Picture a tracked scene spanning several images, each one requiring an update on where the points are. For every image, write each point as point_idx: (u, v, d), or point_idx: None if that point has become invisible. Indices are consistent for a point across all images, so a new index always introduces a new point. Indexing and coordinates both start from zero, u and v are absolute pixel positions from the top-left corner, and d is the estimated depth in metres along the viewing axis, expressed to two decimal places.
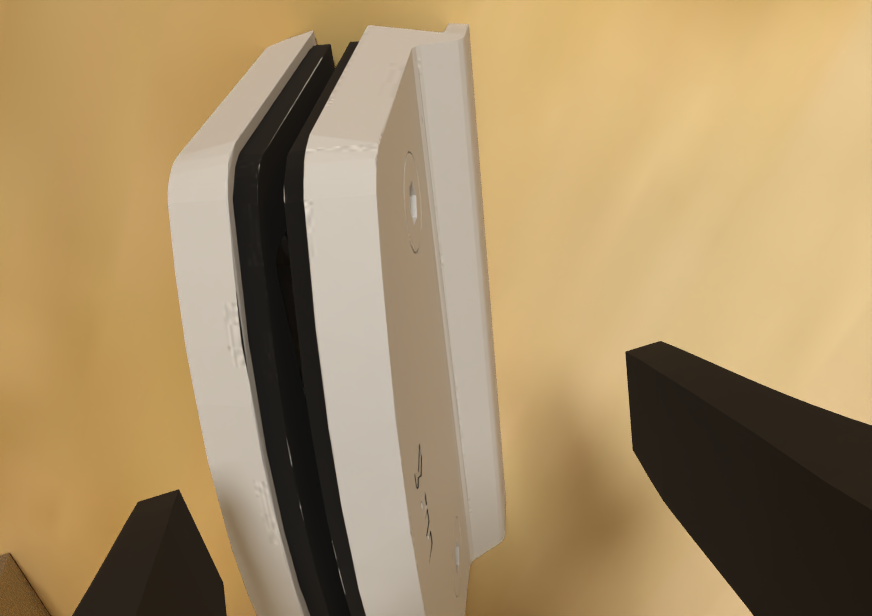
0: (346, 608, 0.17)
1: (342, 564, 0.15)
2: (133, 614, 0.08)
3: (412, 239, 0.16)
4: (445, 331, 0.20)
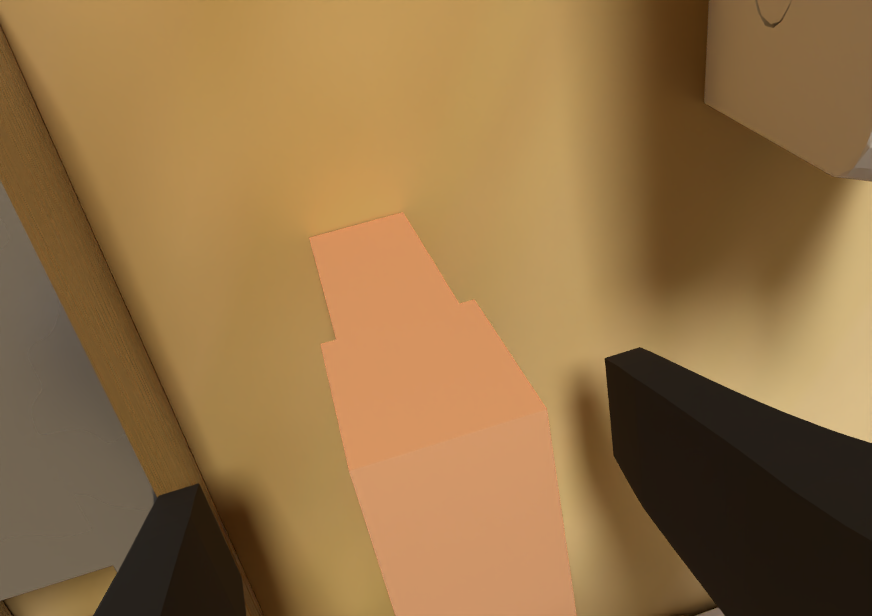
0: None
1: None
2: (160, 606, 0.08)
3: None
4: None
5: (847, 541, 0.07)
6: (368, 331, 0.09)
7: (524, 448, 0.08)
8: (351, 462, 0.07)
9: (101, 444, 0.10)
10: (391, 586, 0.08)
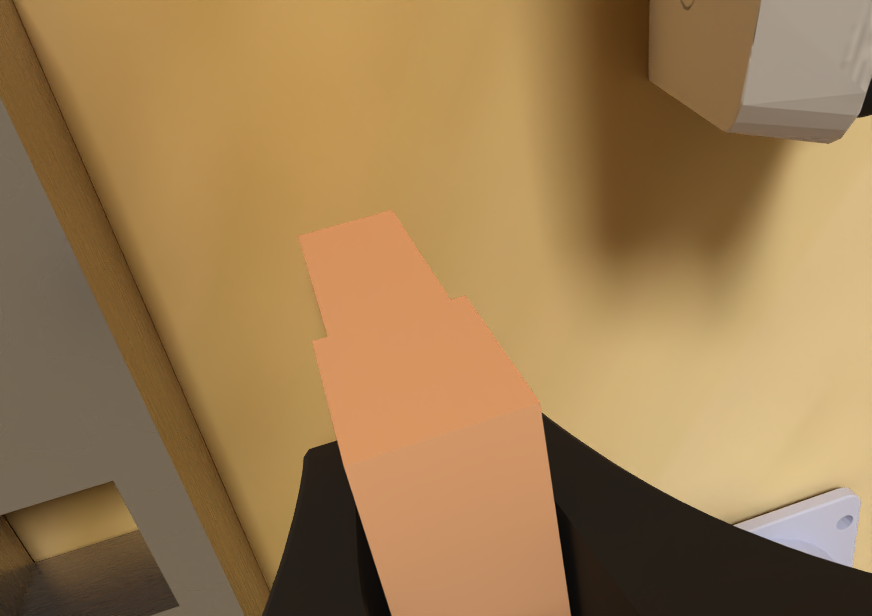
0: None
1: None
2: (353, 542, 0.09)
3: None
4: None
5: None
6: (359, 327, 0.09)
7: (517, 442, 0.08)
8: (345, 458, 0.07)
9: (102, 368, 0.12)
10: (386, 581, 0.08)
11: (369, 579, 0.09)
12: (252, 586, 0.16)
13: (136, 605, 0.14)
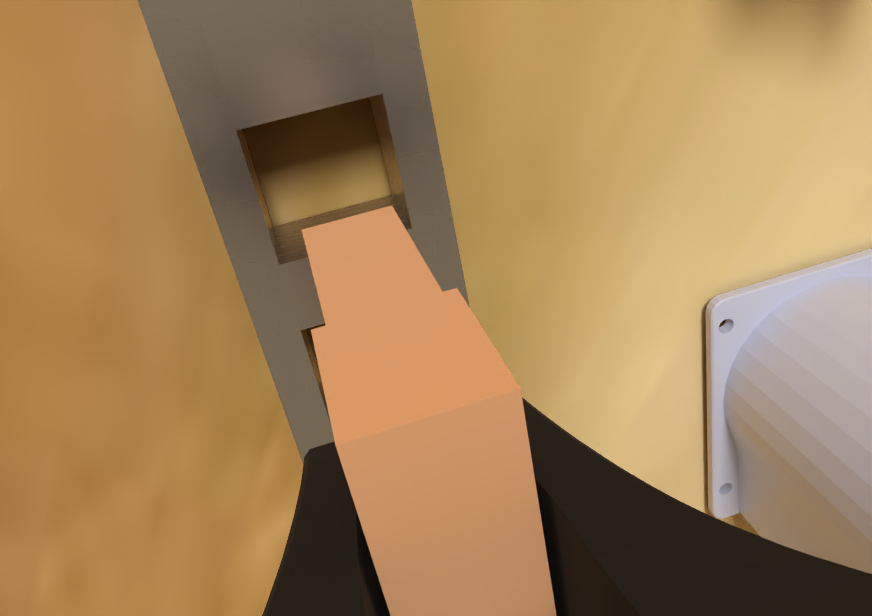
0: None
1: None
2: (353, 542, 0.09)
3: None
4: None
5: None
6: (355, 317, 0.10)
7: (500, 425, 0.08)
8: (337, 438, 0.08)
9: None
10: (376, 555, 0.09)
11: (369, 579, 0.09)
12: None
13: None
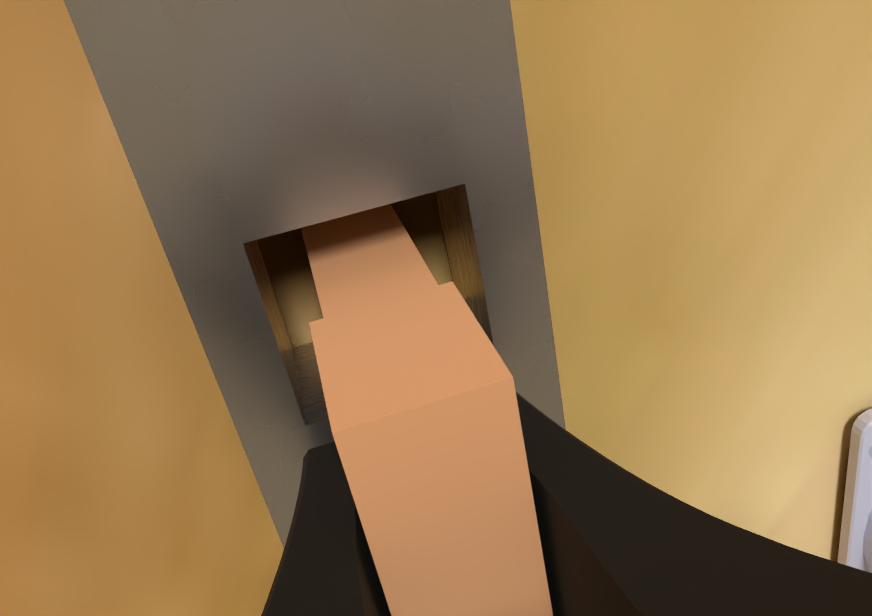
0: None
1: None
2: (352, 543, 0.09)
3: None
4: None
5: None
6: (353, 310, 0.10)
7: (493, 413, 0.08)
8: (334, 425, 0.08)
9: (486, 20, 0.10)
10: (372, 542, 0.09)
11: (368, 579, 0.09)
12: None
13: None
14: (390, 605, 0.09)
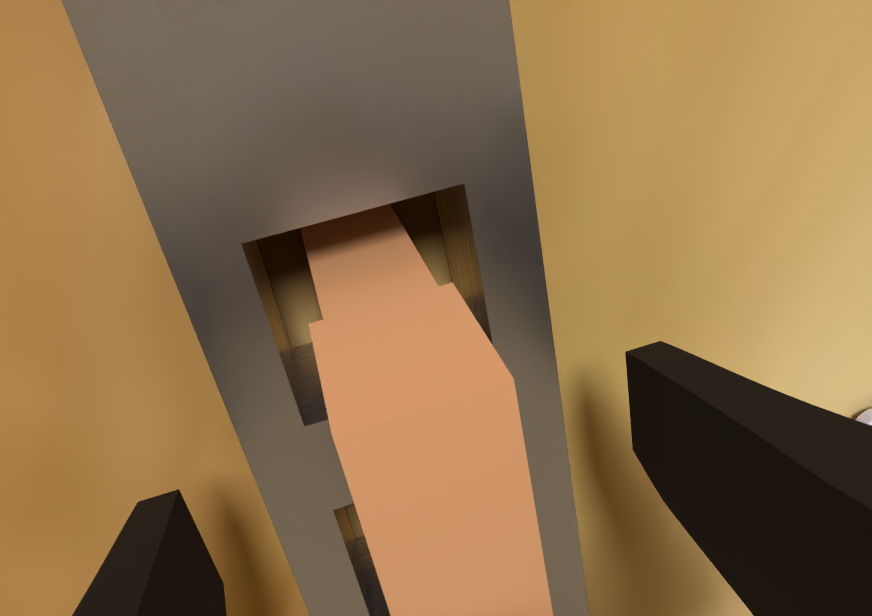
0: None
1: None
2: (133, 614, 0.08)
3: None
4: None
5: None
6: (352, 311, 0.10)
7: (493, 415, 0.08)
8: (334, 427, 0.08)
9: (485, 19, 0.10)
10: (372, 544, 0.09)
11: None
12: None
13: None
14: (390, 607, 0.09)
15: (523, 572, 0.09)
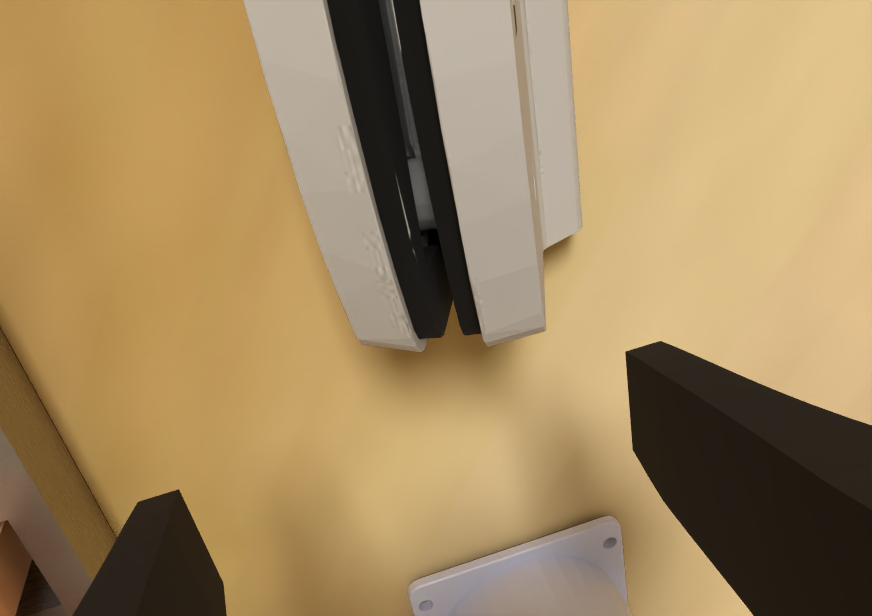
0: (400, 146, 0.12)
1: None
2: (133, 614, 0.08)
3: None
4: None
5: None
6: None
7: None
8: None
9: None
10: None
11: None
12: None
13: (33, 604, 0.21)
14: None
15: None
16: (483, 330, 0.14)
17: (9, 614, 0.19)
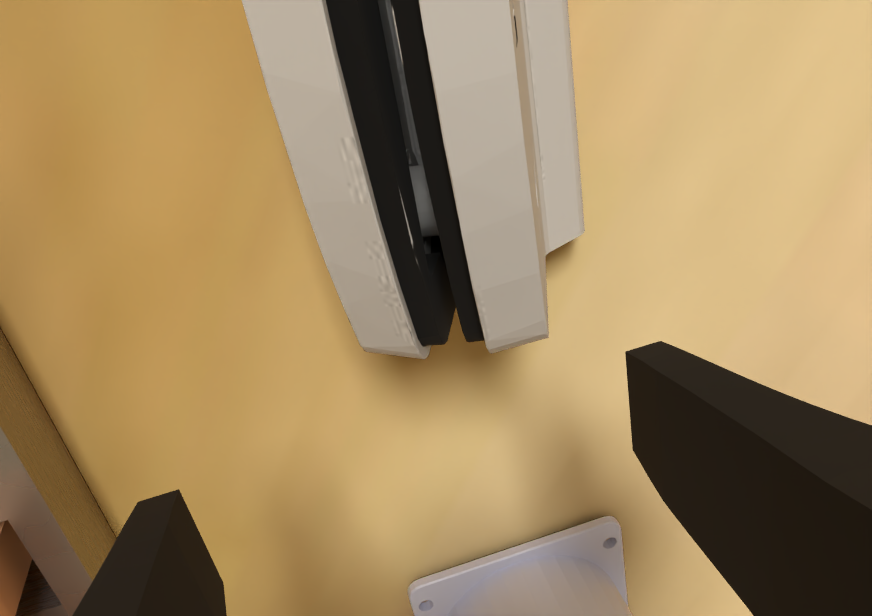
0: (402, 156, 0.13)
1: None
2: (133, 614, 0.08)
3: None
4: None
5: None
6: None
7: None
8: None
9: None
10: None
11: None
12: None
13: (33, 604, 0.21)
14: None
15: None
16: (486, 337, 0.14)
17: (9, 614, 0.19)
